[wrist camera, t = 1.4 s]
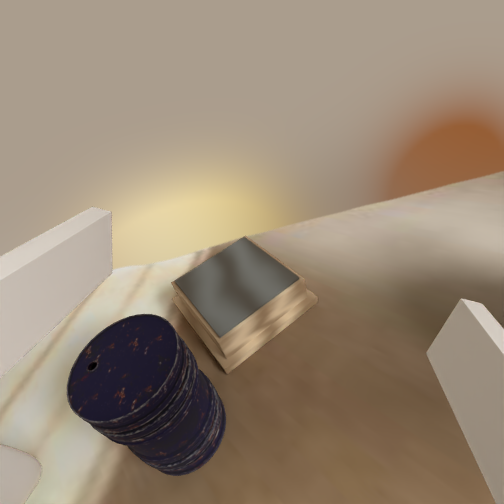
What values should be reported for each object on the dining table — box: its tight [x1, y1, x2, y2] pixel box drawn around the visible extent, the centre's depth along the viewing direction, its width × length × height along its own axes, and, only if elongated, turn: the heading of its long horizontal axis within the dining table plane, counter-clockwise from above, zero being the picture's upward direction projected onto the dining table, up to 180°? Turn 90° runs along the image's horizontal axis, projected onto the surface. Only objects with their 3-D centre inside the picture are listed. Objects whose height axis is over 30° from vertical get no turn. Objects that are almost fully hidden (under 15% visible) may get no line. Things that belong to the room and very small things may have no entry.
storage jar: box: [67, 314, 226, 476], centre depth 31 cm, size 10×10×15 cm
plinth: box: [172, 236, 318, 374], centre depth 46 cm, size 16×16×5 cm
